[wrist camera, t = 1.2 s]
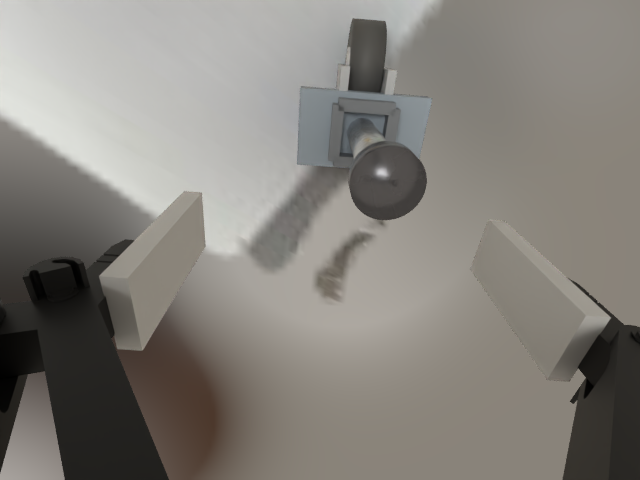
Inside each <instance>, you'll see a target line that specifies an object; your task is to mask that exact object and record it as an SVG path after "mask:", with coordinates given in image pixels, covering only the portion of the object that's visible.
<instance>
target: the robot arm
mask: <svg viewBox="0 0 640 480" xmlns="http://www.w3.org/2000/svg"><path fill="white" fill-rule="evenodd" d="M204 248H205V232H204V218H203V204H202V193H198V192H187V191H184V192H183V193H182V194H181V195H180V196H179V197H178V198H177V199H176V200H175V201H174V202H173V203H172V204H171V205H170V206H169V207H168V208H167V209H166V210H165V211H164V212H163V213H162V214H161V215H160V216H159V217H158V218H157V219H156V220H155V221H154V222H153V223H152V224H151V225H150V226H149V227H148V228H147V229H146V230H145V231H144V232H143V233H142V234H141V235H140V236H139V237H138V238H137V239H136V240H124V241H122V242H120V243H117V244H115V245H114V246H112V247H111V248H110V249H109V250H107V251H106V252H105V253H104V255H102V256H101V257H100V258H99V259H98V260H97V262H94V263H93V264H92V265H91V266H90V267H89V268H88V269H87V270H85V266H84V263H83V262H82V261H81V260H80V259H77V258H74V257H58V258H51V259H48V260H44V261H42V262H39V263H37V264H35V265H33V266H31V267H30V268H29V269H27V270H26V271H25V272H24V275H23V280H24V282H25V285H26V287H27V290H28V293H29V295H30V298H31V300H32V301H27V302H19V303H11V304H3V303H2V301H1V299H0V472H1V468H2V465H3V461H4V458H5V454H6V450H7V447H8V443H9V440H10V436H11V432H12V429H13V425H14V422H15V418H16V415H17V411H18V407H19V404H20V400H21V397H22V393H23V390H24V386H25V383H26V379H27V375H28V374H31V373H37V372H43V371H45V374H46V379H47V385H48V390H49V395H50V401H51V406H52V412H53V417H54V422H55V428H56V434H57V439H58V445H59V450H60V455H61V461H62V466H63V471H64V477H65V480H169V479H168V476H167V474H166V471H165V469H164V467H163V464H162V462H161V459H160V457H159V454H158V452H157V449H156V447H155V444H154V442H153V440H152V437H151V435H150V432H149V430H148V427H147V425H146V423H145V420H144V417H143V415H142V413H141V410H140V408H139V406H138V403H137V400H136V398H135V395H134V393H133V391H132V388H131V386H130V383H129V381H128V378H127V376H126V374H125V371H124V369H123V366H122V364H121V361H120V359H119V356H118V354H117V351H116V349H115V347H114V344H113V342H112V339H111V338H112V337H113V336H114V337H115V341H116V345H117V349H127V350H143V349H144V347H145V345H146V344H147V342H148V340H149V339H150V337H151V335H152V333H153V332H154V330H155V329H156V327H157V326H158V324H159V322H160V321H161V319H162V317H163V316H164V314H165V312H166V311H167V309H168V307H169V306H170V304H171V302H172V301H173V299H174V297H175V296H176V294H177V293H178V291H179V289H180V288H181V286H182V284H183V283H184V281H185V279H186V278H187V276H188V274H189V273H190V271H191V269H192V268H193V266H194V265H195V262H196V261H197V259H198V258H199V256H200V255H201V253H202V251H203V250H204ZM470 270H471V271H472V272H473V274H474V275H475V277H476V278H477V280H478V281H479V283H480V284H481V285H482V287H483V288H484V290H485V291H486V293H487V294H488V296H489V297H490V298H491V300H492V301H493V303H494V304H495V306H496V307H497V308H498V310H499V311H500V313H501V314H502V316H503V317H504V319H505V320H506V321H507V323H508V324H509V326H510V327H511V329H512V330H513V332H514V333H515V334H516V336H517V337H518V339H519V340H520V342H521V343H522V345H523V346H524V347H525V349H526V350H527V352H528V353H529V355H530V356H531V358H532V359H533V361H534V362H535V363H536V365H537V366H538V368H539V369H540V371H541V372H542V374H543V375H544V376H545V378H546V379H547V380H554V381H570V380H571V378H572V377H573V375H574V374H575V372H576V371H577V369H578V368H579V369H580V371H581V372H582V373H583V374H584V376H585V377H586V379H585V380H584V382H583V383H582V384H581V386H580V387H579V389H578V390H577V392H576V393H575V395H574V396H573V398H572V399H571V401H570V402H571V403H573V404H574V403H575V402H576V400H578V401H577V407H576V412H575V417H574V422H573V427H572V433H571V438H570V443H569V448H568V454H567V459H566V464H565V470H564V475H563V480H640V327H637V326H632V325H624V324H623V323H621V322H620V321H619V320H618V319H617V318H616V317H615V316H614V315H613V314H611V313H610V312H609V311H608V310H607V309H606V308H605V307H604V306H603V305H601V304H600V303H597V300H596V299H594V298H593V297H592V296H591V295H589V293H588V292H587V291H586V290H585V289H583V288H582V287H581V286H580V285H579V284H577V283H576V282H574V281H572V280H570V279H569V278H567V277H566V276H565V275H563V274H562V273H561V272H560V271H559V270H558V269H557V268H556V267H555V266H553V264H551V263H550V262H549V261H548V260H547V259H546V258H545V257H544V256H542V254H540V253H539V252H538V251H537V250H536V249H535V248H534V247H533V246H532V245H531V244H529V243H528V242H527V241H526V240H525V239H524V238H523V237H521V235H519V234H518V233H517V232H516V231H515V230H514V229H513V228H512V227H511V226H510V225H509V224H507V223H506V222H505V221H501V220H490V219H489V220H488V222H487V225H486V228H485V230H484V233H483V236H482V238H481V241H480V244H479V247H478V249H477V252H476V255H475V257H474V260H473V263H472V266H471V268H470Z"/></svg>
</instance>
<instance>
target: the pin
mask: <svg viewBox="0 0 640 480" xmlns="http://www.w3.org/2000/svg"><path fill="white" fill-rule="evenodd" d="M347 138H348V141H349V144H350V147H351V151H352V154H353V157H354V160H353V161H352V164H351V166H350V169H349V174H348V183H349V188H350V192H351V197H352V199H353V202H354V203H355V205H356V206H357V208H358V209H359V210H360V211H361V212H362V213H364V214H365V215H367V216H369V217H371V218H374V219H378V220H391V219H396V218H399V217H401V216H404V215H405V214H407V213H409V212H410V211H411V210H413V209H414V208H415V207H416V206H417V204H418V203H419V202H420V200H421V199H422V197H423V195H424V192H425V189H426V183H427V178H426V172H425V169H424V166H423V164H422V163H421V162H420V160H419V159H418V158H417V157H416V155H415V154H414V153H413V152H412V151H411V150H410V149H409V148H408V147H406V146H405V145H403V144H401V143H398V142H394V141H386V139H385V138H384V137H383V135H382V134H381V132H380V131H379V130H378V128H377V127H376V126H375V124H374V123H373V122H372V121H371V120H370V119H368V118H357V119H355V120H354V121H352V122H351V124H350V125H349V127H348V129H347Z"/></svg>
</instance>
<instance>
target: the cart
mask: <svg viewBox="0 0 640 480" xmlns="http://www.w3.org/2000/svg"><path fill="white" fill-rule="evenodd" d="M386 40H387V29H386V23H385V21H377V20H365V19H354V18H353V19H352V23H351V27H350V33H349V40H348V47H347V54H346V62H345V65H344V64H338V74H337V85H336V89H328V88H316V87H304V86H301V88H300V108H299V131H298V155H297V164H299V165H313V166H326V167H340V168H350V166H351V164H352V161H353V160H354V157H353V154H352V151H351V147H350V144H349V141H348V138H347V129H348V127H349V125H350V124H351V122H352V121H354V120H355V119H357V118H368V119H370V120H371V121H372V122H373V123H374V124H375V126H376V127H377V128H378V130H379V131H380V132H381V134H382V135H383V137H384V138H385V139H386V141H394V142H398V143H401V144H403V145H405V146H406V147H408V148H409V149H410V150H411V151H412V152H413V153H414V154H415V155H416V157H417V158H418V159H419V157H420V153H421V148H422V143H423V139H424V134H425V129H426V125H427V120H428V116H429V111H430V107H431V102H432V98H429V97H427V96H414V95H402V94H394V88H395V82H396V76H397V71H396V70H392V69H388V68H384V63H385V54H386Z"/></svg>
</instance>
